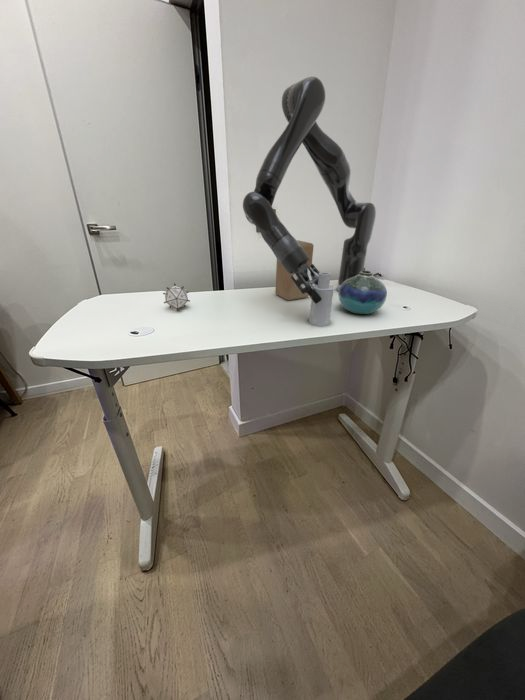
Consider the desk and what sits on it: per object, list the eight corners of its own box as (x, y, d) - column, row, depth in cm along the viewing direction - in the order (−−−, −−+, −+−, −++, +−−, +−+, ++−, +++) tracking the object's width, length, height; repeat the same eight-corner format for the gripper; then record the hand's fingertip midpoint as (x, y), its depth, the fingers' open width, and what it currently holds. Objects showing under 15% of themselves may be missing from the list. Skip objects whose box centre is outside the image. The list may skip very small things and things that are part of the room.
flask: (319, 317, 93) (325, 270, 87) (333, 323, 89) (340, 274, 82) (305, 320, 91) (309, 272, 84) (318, 327, 86) (324, 276, 79)
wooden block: (287, 301, 108) (291, 244, 98) (274, 294, 115) (276, 241, 106) (309, 298, 112) (314, 243, 102) (295, 291, 120) (299, 239, 110)
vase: (365, 302, 108) (372, 266, 102) (392, 317, 95) (402, 276, 89) (328, 305, 104) (333, 267, 98) (351, 321, 91) (358, 278, 85)
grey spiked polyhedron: (185, 318, 100) (199, 297, 96) (162, 316, 94) (177, 293, 89) (175, 300, 104) (189, 279, 99) (153, 296, 97) (167, 274, 93)
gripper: (289, 248, 77) (326, 296, 78) (307, 242, 89) (339, 285, 89) (271, 266, 82) (306, 312, 83) (290, 258, 93) (321, 299, 94)
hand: (323, 297), depth 86 cm, fingers open, 8 cm apart
